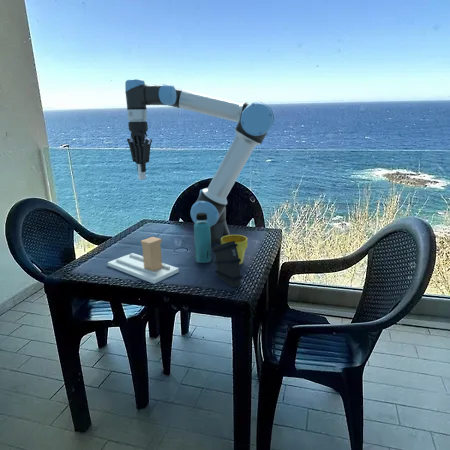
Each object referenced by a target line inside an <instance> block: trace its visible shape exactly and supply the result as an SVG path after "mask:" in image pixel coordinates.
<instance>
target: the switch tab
mask: <svg viewBox="0 0 450 450" xmlns="http://www.w3.org/2000/svg"><path fill="white" fill-rule="evenodd" d="M162 241H163V240H162V238H159V237H155V236H151V237H148V238H145V239H141V240H140V244H141V247H142V256H143V260H144V268H145V269H148V270H151V271H155V270H157V269H160V268H162V263H163V261H162V259H163V258H162V247H161V244H162Z"/></svg>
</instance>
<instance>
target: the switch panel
mask: <svg viewBox="0 0 450 450" xmlns="http://www.w3.org/2000/svg"><path fill="white" fill-rule="evenodd" d="M107 266H108V267H110V268H112V269H116V270H118V271H120V272H123V273H126V274H128V275H131V276H133V277H136V278H138V279H140V280H143V281H146V282H149V283H150V284H154V285H155V284H158V283H160V282H161V281H163V280H166V279H167V278H170V277H171V276H174V275H175V274H177V273H180V272H179V268H178V267H176V266H173V265H170V264H168V263H167V264H166V263H165V262H162V268H160V269H157V270H155V271H151V270H148V269H145V268H144V260H143V255H140V254H137V253H134V252H131V253H129V254H126V255H123V256H121V257H118V258H115V259H112V260H111V261H108V262H107Z"/></svg>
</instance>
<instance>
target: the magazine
mask: <svg viewBox="0 0 450 450" xmlns="http://www.w3.org/2000/svg"><path fill="white" fill-rule="evenodd" d="M236 246H238V245H237V244H235V241H231V242H227V243H224V244H221V243H220V244H217V245H214V246H213V247H212V249H211V252H212V254H213V253H214V256H215V261H214V264H215V265H216V270H215V273H216V276H217V278H219V279H220V280H222V281H224V282H225V283H227V284H228V285H229V286H231V287H232V288H237V287H241V286H242V283H241V281H242V279H243V275H242V273H241V266H240V265H241V264H239V262H241V259H239V257H238V252H237V248H236Z"/></svg>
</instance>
